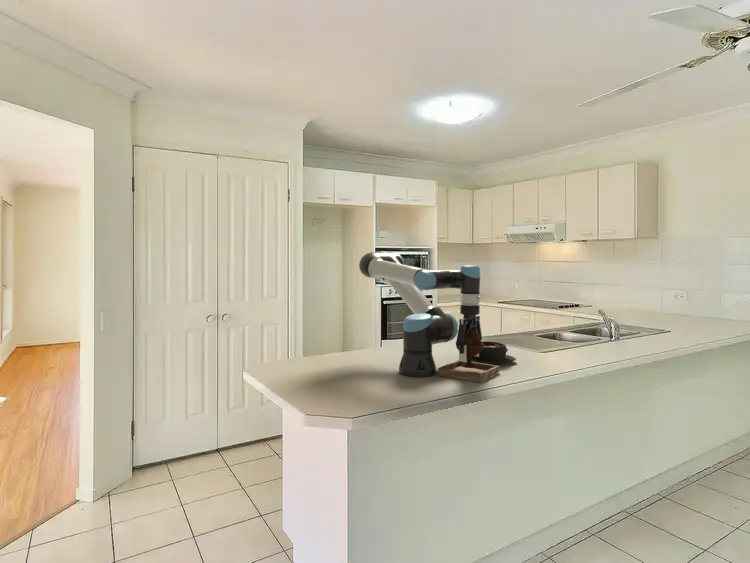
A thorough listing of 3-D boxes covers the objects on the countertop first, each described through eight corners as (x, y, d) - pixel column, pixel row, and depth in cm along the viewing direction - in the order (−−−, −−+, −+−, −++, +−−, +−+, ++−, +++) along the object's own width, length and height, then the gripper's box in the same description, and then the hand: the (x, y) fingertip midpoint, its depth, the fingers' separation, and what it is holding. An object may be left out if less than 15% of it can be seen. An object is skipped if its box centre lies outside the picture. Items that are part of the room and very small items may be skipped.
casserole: (502, 356, 222) (502, 339, 222) (524, 366, 204) (524, 346, 204) (453, 359, 216) (453, 341, 216) (471, 369, 198) (471, 349, 198)
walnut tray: (480, 382, 177) (480, 374, 177) (438, 375, 187) (438, 368, 187) (499, 373, 191) (499, 365, 191) (458, 366, 202) (458, 359, 202)
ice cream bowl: (478, 363, 195) (479, 327, 194) (486, 369, 184) (486, 331, 183) (453, 363, 195) (453, 327, 194) (458, 369, 183) (459, 331, 183)
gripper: (465, 307, 176) (464, 365, 177) (490, 302, 195) (489, 355, 196) (447, 306, 181) (446, 362, 182) (473, 301, 199) (473, 352, 201)
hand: (469, 358), depth 189 cm, fingers closed on ice cream bowl, 11 cm apart
